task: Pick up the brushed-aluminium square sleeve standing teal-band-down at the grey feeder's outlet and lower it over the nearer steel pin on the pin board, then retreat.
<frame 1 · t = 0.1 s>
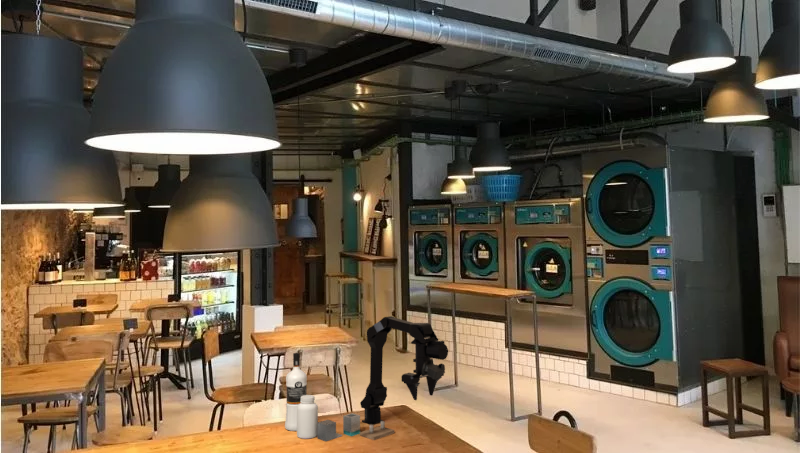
hand: (423, 397, 216), 15 cm above the table, fingers open, 9 cm apart
pill bottle: (307, 436, 217), on the table
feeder: (326, 438, 214), on the table
pin board: (377, 434, 218), on the table
sleeve: (351, 433, 219), on the table
vodka: (296, 428, 227), on the table
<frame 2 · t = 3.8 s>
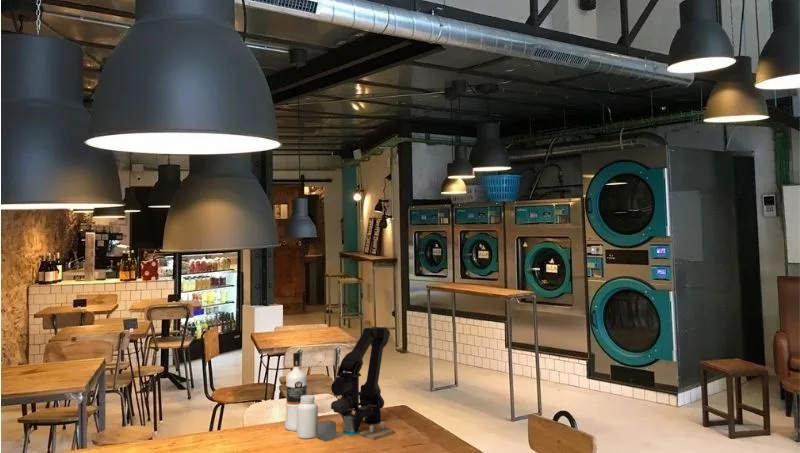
hand: (351, 430, 219), 1 cm above the table, fingers closed on sleeve, 5 cm apart
sleeve: (351, 433, 219), on the table, touching gripper
everything else where it was.
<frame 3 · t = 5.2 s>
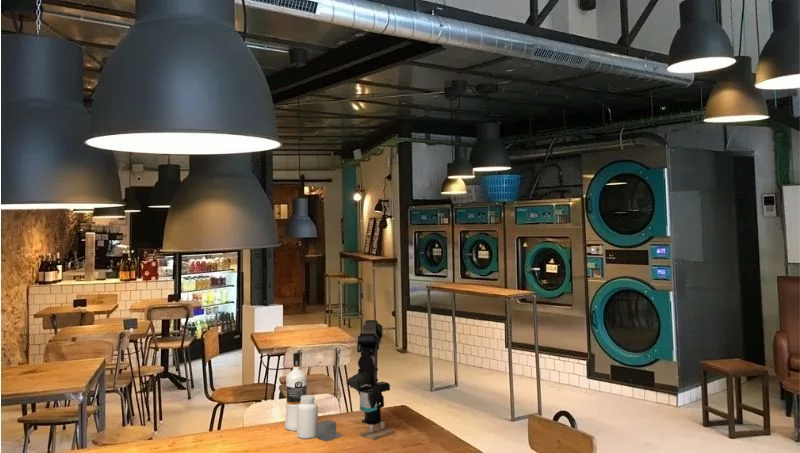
hand: (368, 406, 217), 11 cm above the table, fingers closed on sleeve, 5 cm apart
sleeve: (368, 410, 217), point 10 cm above the table, touching gripper
everything else where it was.
when the fingers open (4 cm above the table, at t = 7.0 s): sleeve drops 1 cm, resting on pin board.
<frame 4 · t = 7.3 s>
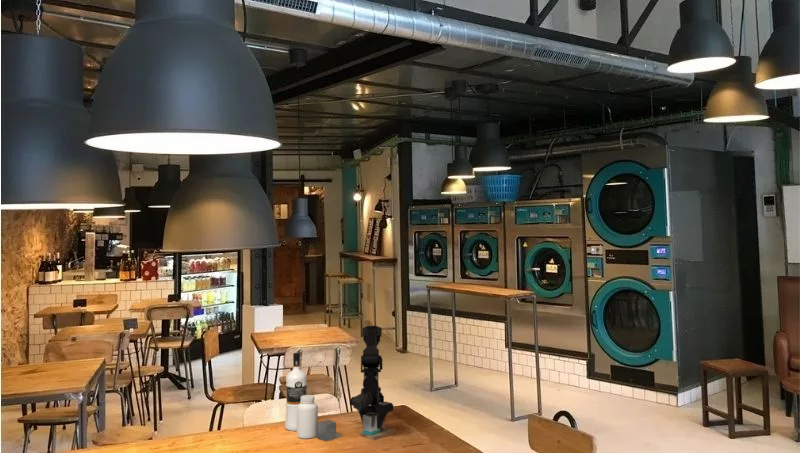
hand: (371, 426, 216), 4 cm above the table, fingers open, 8 cm apart
sleeve: (371, 433, 216), point 1 cm above the table, touching pin board
everything else where it was.
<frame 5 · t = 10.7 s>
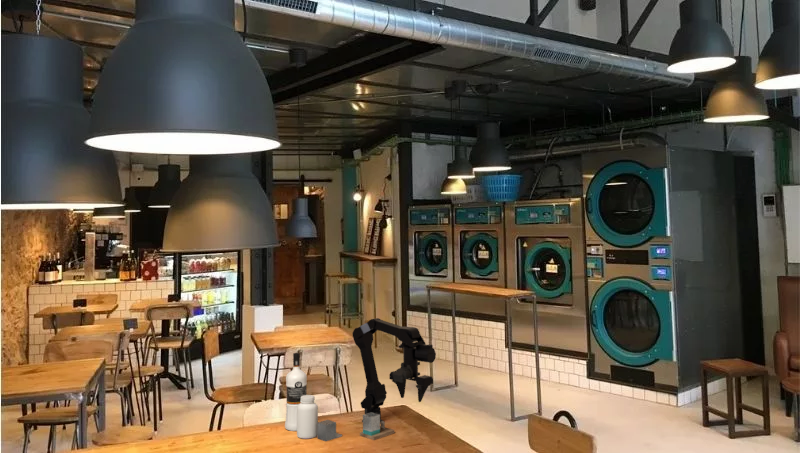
hand: (411, 399, 223), 12 cm above the table, fingers open, 9 cm apart
nothing on the table moved.
at the end: sleeve 0.1 cm from the target spot on the pin board, point 1.2 cm above the pin board's base; sleeve tilted 0°; the gripper is holding nothing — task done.
